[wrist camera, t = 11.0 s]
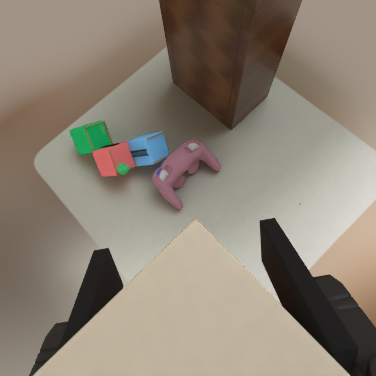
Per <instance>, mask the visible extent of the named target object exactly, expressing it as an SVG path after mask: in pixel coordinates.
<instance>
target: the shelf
mask: <svg viewBox="0 0 376 376" xmlns="http://www.w3.org/2000/svg"><path fill="white" fill-rule="evenodd" d="M159 2H160V8H161V14H162V20H163V26H164V31H165V38H166V43H167V49H168V55H169V61H170V67H171V73H172V79H173V82H174V83H175V84H176V85H177V86H179V87H180V88H181V89H182V90H183V91H185V92H186V93H187V94H188V95H190V96H191V97H192V98H193V99H194V100H196V101H197V102H198V103H199V104H200V105H202V106H203V107H204V108H205V109H206V110H208V111H209V112H210V113H211V114H213V115H214V116H215V117H216V118H217V119H219V120H220V121H221V122H222V123H223V124H225V125H226V126H227V127H228V128H229V129H231V130H232V129H233V128H234V127H235V126H236V125H237V124H238V123H239V122H241V121H242V120H243V119H244V118H245V117H246V116H247V115H248V114H249V113H250V112H251V111H252V110H253V109H254V108H255V107H256V106H257V105H258V104H259V103H260V102H262V101H263V100H264V99H265V98H266V97H267V95H268V93H269V90H270V87H271V84H272V82H273V79H274V76H275V73H276V71H277V68H278V65H279V62H280V60H281V57H282V54H283V51H284V48H285V46H286V43H287V41H288V38H289V35H290V32H291V30H292V27H293V24H294V21H295V19H296V16H297V13H298V10H299V8H300V5H301V2H302V0H159Z"/></svg>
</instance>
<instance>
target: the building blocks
mask: <svg viewBox="0 0 376 376" xmlns="http://www.w3.org/2000/svg"><path fill="white" fill-rule="evenodd" d="M106 127H107V126H106V123H105V121H98V122H94V123H91V124H87V125H84V126H81V127H77V128H74V129H71V130H70V134H71V136H72V139H73V141H74V144H75V146H76V148H77V151H78V153H79V154H80V155H82V154H88V153H92V154H93V156H94V159H95V161H96V164H97V166H98V169H99V171H100V174H101V176H102V177H106V176H117V175H120V174H122V175H126V174H127V172H128V171H129V170H130V169H132V168H134V167H135V166H145V165H154V164H156V163H158V162H160V161H162V160H164V159H166V158H167V157H168V156H169V155H170V153H169V150H168V147H167V144H166V140H165V137H164V134H163V133H164V132H162V131H160V132H155V133H150V134H145V135H142V136H140V137H137V138H135V139H132V140H130V141H128V142H122V143H116V144H113V143H112V141H111V138H110V137H111V136H109V133H108V132H109V131H108V128H106Z"/></svg>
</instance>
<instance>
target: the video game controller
mask: <svg viewBox="0 0 376 376" xmlns="http://www.w3.org/2000/svg"><path fill="white" fill-rule="evenodd" d="M199 160H202V161H204V162H205V163H206V164H208V165H209V166H210V167H211V168H212V169H214V170H216V171H220V169H221V167H220V164H219V162H218V161H217V159H216V158H215V156H214V155H213V154H212V153H211V152H210V150H209V149H208V148H207V147H206V146H205V145H204V144H203V143H202V142H201V141H199V140H197V139H190V140H188V141H187V142H186V143H185V144H183V145H181V146H180V147H178V148H177V149H176V150H175V151H174V152H172V153H171V154H170V155H169V156H168V157H167V159H166V160H165V161H164V162H163V164H162V165H161V167H159V168H158V169H157V170H156V171H155V172H154V174H153V177H152V181H153V183H154V185H155V186H156V187H157V188H158V190H159V192H160V193H161V195H162V196H163V197H164V198H165V199H166V200H167V201H168V202H169V203H170V204H172V205H173V206H174V207H175V208H177V209H182V208H183V205H182V202H181V200H180V199H179V197H178V196H177V195H176V193H175V191H174V190H173V187H175V188H180V187H181V186H182V185H183V184H184V182H185V177H184V176H183V175H182V174H183V173H184V172H185V171H187V172H188V173H190V174H193V173H195V172H196V171H197V170H198V168H199Z"/></svg>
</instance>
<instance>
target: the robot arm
mask: <svg viewBox="0 0 376 376" xmlns="http://www.w3.org/2000/svg"><path fill="white" fill-rule="evenodd" d="M260 235H261V257H262V262H263V265H264V267H265V269H266V271H267V273H268V276H269V278H270V280H271V282H272V284H273V287H274V289H275V291H276V293H277V295H278V298H279V300H280V302H281V304H282V307H283V308H284V309H285V310H286V311H287V312H288V313H289V314H290V315H291V316H292V317H293V318H294V319H295V320H296V321H297V322H298V323H299V324H300V325H301V326H302V327H303V328H304V329H305V330H306V331H307V332H308V333H309V334H310V335H311V336H312V337H313V338H314V339H315V340H316V341H317V342H318V343H319V344H320V345H321V346H322V347H323V348H324V349H325V350H326V351H327V352H328V353H329V354H330V355H331V356H332V357H333V358H334V359H335V360H336V361H337V362H338V363H339V365H340V366H341V367H342V368H343V369H344V370H345V371H346V372H347V373H348V374H349V375H350V376H376V328H375V326H374V325H373V324H372V322H371V321H370V320H369V319H368V317H367V316H366V314H365V313H364V312H363V310H362V309H361V308H360V307H359V306H358V304H357V303H356V301H355V300H354V299H353V298H352V297H351V295H350V293H349V292H348V291H347V289H346V288H345V287H344V286H343V284H342V283H340V282H339V281H338V280H337V279H335V278H334V277H332V276H331V275H324V276H318V277H313V276H312V275H311V273H310V272H309V270H308V269H307V267H306V266H305V264H304V263H303V261H302V259H301V258H300V256H299V255H298V253H297V252H296V250H295V249H294V247H293V246H292V244H291V242H290V241H289V239H288V238H287V236H286V235H285V233H284V232H283V230H282V229H281V227H280V225H279V224H278V222H277V221H276V219H275V218H272V219H266V220H261V221H260ZM122 289H123V283H122V280H121V278H120V275H119V273H118V270H117V268H116V265H115V263H114V260H113V258H112V256H111V253H110V251H109V248H106V249H100V250H95V251H94V252H93V255H92V257H91V260H90V263H89V266H88V269H87V271H86V274H85V277H84V279H83V282H82V285H81V288H80V290H79V293H78V296H77V299H76V301H75V304H74V307H73V309H72V312H71V315H70V318H69V321H68V322H63V323H57V324H55V325H54V327H53V328H52V329H51V330H50V332H49V333H48V334H47V336H46V337H45V340H44V342H43V344H42V347H41V349H40V353H39V354H38V356H37V359H36V361H35V365H34V366H33V368H32V371H31V373H30V375H29V376H33V375H34V374H35V373H36V372H37V371H38V370H39V369H40V368H41V367H42V366H43V365H44V364H45V363H46V362H47V361H48V360H49V359H50V358H51V357H52V356H54V355H55V354H56V353H57V352H58V351H59V350H60V349H61V348H62V347H63V346H64V345H65V344H66V343H67V342H68V341H69V340H70V339H71V338H72V337H73V336H74V335H75V334H76V333H77V332H78V331H79V330H80V329H81V328H82V327H84V326H85V325H86V324H87V323H88V322H89V321H90V320H91V319H92V318H93V317H94V316H95V315H96V314H97V313H98V312H99V311H100V310H101V309H102V308H103V307H104V306H105V305H106V304H107V303H108V302H109V301H110V300H111V299H113V298H114V297H115V296H116V295H117V294H118V293H119V292H120V291H121V290H122Z"/></svg>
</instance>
